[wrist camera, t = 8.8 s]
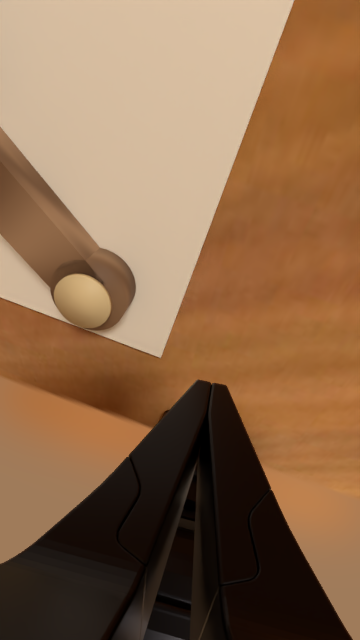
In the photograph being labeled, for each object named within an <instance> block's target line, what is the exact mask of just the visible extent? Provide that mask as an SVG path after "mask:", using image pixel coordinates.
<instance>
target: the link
mask: <svg viewBox="0 0 360 640" xmlns="http://www.w3.org/2000/svg"><path fill="white" fill-rule="evenodd" d="M0 234H1V235H2V237H3V238H4V239H5V240H6V241H7V242H8V243H9V244H10V245H11V246H12V247H13V248H14V250H15V251H16V252H17V253H18V254H19V255H20V256H21V257H22V258H23V259H24V260H25V261H26V262H27V264H28V265H29V266H30V267H31V268H32V269H33V270H34V271H35V272H36V273H37V274H38V275H39V276H40V278H41V279H42V280H43V281H44V282H45V283H46V284H47V285H48V286H49V287H50V291H51V296H52V299H53V301H54V290H55V287H56V285H57V283H58V282H59V281H60V280H62V279H63V278H64V277H65V276H67V275H70V274H75V273H80V274H85V275H89V276H91V277H93V278H95V279H96V280H98V281H99V282H100V283H101V284H102V285H103V286H104V287H105V288H106V290H107V291H108V293H109V295H110V297H111V301H112V311H111V314H110V316H109V317H108V319H107V320H106V321H105V322H104V323H103V324H102V325H100V326H98V327H95V328H84V329H88V330H96V331H98V330H105V329H108V328H111V327H113V326H114V325H115V324H117V323H118V322H119V320H120V319H121V318H122V316H123V315H124V313H125V312H126V310H127V309H128V307H129V306H130V304H131V303H132V301H133V299H134V296H135V292H136V283H135V278H134V275H133V273H132V271H131V269H130V267H129V266H128V265H127V263H126V262H125V261H124V260H123V259H122V258H121V257H119V256H118V255H117V254H115V253H113V252H111V251H109V250H107V249H103V248H100V247H99V246H98V245H97V243H96V242H95V241H94V240H93V239H92V237H91V236H90V235H89V234H88V232H87V231H86V230H85V229H84V228H83V226H82V225H81V224H80V223H79V222H78V220H77V219H76V218H75V217H74V216H73V214H72V213H71V212H70V211H69V209H68V208H67V207H66V206H65V205H64V203H63V202H62V201H61V200H60V199H59V197H58V196H57V195H56V194H55V192H54V191H53V190H52V189H51V188H50V186H49V185H48V184H47V183H46V182H45V180H44V179H43V178H42V177H41V176H40V174H39V173H38V172H37V171H36V169H35V168H34V167H33V166H32V165H31V163H30V162H29V161H28V160H27V159H26V157H25V156H24V155H23V154H22V152H21V151H20V150H19V149H18V148H17V146H16V145H15V144H14V143H13V142H12V140H11V139H10V138H9V137H8V136H7V134H6V133H5V132H4V131H3V129H2V128H1V127H0ZM54 304H55V301H54ZM55 305H56V304H55ZM57 309H58V308H57ZM81 328H83V327H81Z"/></svg>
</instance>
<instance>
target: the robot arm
mask: <svg viewBox="0 0 360 640" xmlns="http://www.w3.org/2000/svg"><path fill="white" fill-rule="evenodd" d="M0 640H353V639H352V638H351V636H350V635H349V633H348V631H347V630H346V628H345V627H344V625H343V623H342V622H341V620H340V618H339V616H338V615H337V613H336V611H335V609H334V607H333V606H332V604H331V602H330V600H329V599H328V597H327V595H326V593H325V591H324V590H323V588H322V586H321V584H320V583H319V581H318V579H317V577H316V576H315V574H314V572H313V570H312V568H311V567H310V565H309V563H308V561H307V560H306V558H305V556H304V554H303V552H302V551H301V549H300V547H299V545H298V543H297V541H296V539H295V538H294V536H293V534H292V532H291V530H290V528H289V526H288V524H287V522H286V520H285V518H284V516H283V514H282V511H281V509H280V507H279V505H278V502H277V500H276V498H275V495H274V493H273V491H272V490H271V487H270V484H269V482H268V480H267V477H266V475H265V473H264V471H263V468H262V466H261V464H260V461H259V459H258V457H257V454H256V452H255V450H254V447H253V445H252V443H251V441H250V438H249V436H248V434H247V431H246V429H245V427H244V424H243V422H242V420H241V418H240V415H239V413H238V411H237V408H236V406H235V404H234V401H233V399H232V397H231V395H230V392H229V390H228V388H227V386H226V385H223V384H218V383H212V385H211V383H210V382H208V381H203V380H197V381H195V383H194V384H193V385H192V386H191V387H190V388H189V389H188V390H187V391H186V392H185V394H184V395H183V396H182V397H181V398H180V399H179V400H178V401H177V402H176V404H175V405H174V406H173V407H172V408H171V409H170V410H169V411H166V412H165V413H164V415H163V417H162V419H161V420H160V421H159V422H158V423H157V425H156V426H155V427H154V428H153V429H152V430H151V431H150V432H149V433H148V435H147V436H146V437H145V438H144V439H143V440H142V441H141V442H140V444H139V445H138V446H137V447H136V448H135V449H134V450H133V451H132V452H131V453H130V454H129V457H126V459H125V460H124V461H123V462H122V463H121V464H120V465H119V466H118V467H117V468H116V469H115V471H114V472H113V473H112V474H111V475H110V476H109V477H108V478H107V479H106V480H105V481H104V482H103V483H102V484H101V485H100V486H99V487H98V488H96V489H95V490H94V491H93V492H92V493H91V494H90V495H89V496H88V497H87V498H85V499H84V500H83V501H82V502H81V503H80V504H79V505H77V507H75V508H74V509H73V510H72V511H70V512H69V513H68V514H67V515H66V516H65V517H64V518H63V519H61V520H60V521H59V522H58V523H57V524H55V525H54V526H53V527H52V528H51V529H50V530H49V531H47V532H46V533H45V534H44V535H43V536H42V537H41V538H39V539H38V540H37V541H36V542H35V543H33V544H32V545H31V546H29V547H28V548H27V549H25V550H24V551H23V552H21V553H19V554H18V555H16V556H15V557H13V558H11V559H9V560H8V561H6V562H4V563H2V564H0Z"/></svg>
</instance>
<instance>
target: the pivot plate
mask: <svg viewBox="0 0 360 640" xmlns="http://www.w3.org/2000/svg"><path fill="white" fill-rule="evenodd" d="M293 2H294V0H0V127H1V128H2V129H3V131H4V132H5V133H6V134H7V136H8V137H9V138H10V139H11V140H12V142H13V143H14V144H15V145H16V146H17V148H18V149H19V150H20V151H21V152H22V154H23V155H24V156H25V157H26V159H27V160H28V161H29V162H30V163H31V165H32V166H33V167H34V168H35V169H36V171H37V172H38V173H39V174H40V176H41V177H42V178H43V179H44V180H45V182H46V183H47V184H48V185H49V186H50V188H51V189H52V190H53V191H54V192H55V194H56V195H57V196H58V197H59V199H60V200H61V201H62V202H63V203H64V205H65V206H66V207H67V208H68V209H69V211H70V212H71V213H72V214H73V216H74V217H75V218H76V219H77V220H78V222H79V223H80V224H81V225H82V226H83V228H84V229H85V230H86V231H87V232H88V234H89V235H90V236H91V237H92V239H93V240H94V241H95V242H96V243H97V245H98V246H99V247H100V248H103V249H107V250H109V251H111V252H113V253H115V254H117V255H118V256H119V257H121V258H122V259H123V260H124V261H125V262H126V263H127V265H128V266H129V267H130V269H131V271H132V273H133V275H134V278H135V283H136V292H135V296H134V299H133V301H132V303H131V304H130V306H129V307H128V309H127V310H126V312H125V313H124V315H123V316H122V318H121V319H120V320H119V322H118V323H117V324H115V325H114V326H113V327H111V328H108V329H105V330H98V331H96V330H88V329H85V330H88V331H91V332H93V333H96V334H99V335H101V336H104V337H107V338H109V339H112V340H114V341H117V342H120V343H122V344H125V345H128V346H130V347H133V348H136V349H138V350H141V351H143V352H146V353H149V354H151V355H154V356H157V357H159V358H161V356H162V353H163V351H164V348H165V345H166V343H167V340H168V337H169V334H170V332H171V329H172V326H173V324H174V321H175V318H176V316H177V313H178V310H179V308H180V305H181V302H182V300H183V297H184V294H185V292H186V289H187V286H188V284H189V281H190V278H191V276H192V273H193V270H194V267H195V265H196V262H197V259H198V257H199V254H200V251H201V249H202V246H203V243H204V241H205V238H206V235H207V233H208V230H209V227H210V225H211V222H212V219H213V217H214V214H215V211H216V209H217V206H218V203H219V201H220V198H221V195H222V192H223V190H224V187H225V184H226V182H227V179H228V176H229V174H230V171H231V168H232V166H233V163H234V160H235V158H236V155H237V152H238V150H239V147H240V144H241V142H242V139H243V136H244V134H245V131H246V128H247V126H248V123H249V120H250V117H251V115H252V112H253V109H254V107H255V104H256V101H257V99H258V96H259V93H260V91H261V88H262V85H263V83H264V80H265V77H266V75H267V72H268V69H269V67H270V64H271V61H272V59H273V56H274V53H275V51H276V48H277V45H278V42H279V40H280V37H281V34H282V32H283V29H284V26H285V24H286V21H287V18H288V16H289V13H290V10H291V8H292V5H293ZM0 297H1V298H4V299H6V300H9V301H11V302H14V303H17V304H19V305H22V306H25V307H27V308H30V309H33V310H35V311H38V312H41V313H43V314H46V315H48V316H51V317H54V318H56V319H59V320H62V321H64V322H67V323H70V324H72V325H75V326H77V327H80V328H81V327H83V329H84V328H95V327H98V326H100V325H102V324H103V323H104V322H105V321H106V320H107V319H108V317H109V316H110V314H111V311H112V301H111V297H110V295H109V293H108V291H107V290H106V288H105V287H104V286H103V285H102V284H101V283H100V282H99V281H98V280H96V279H95V278H93V277H91V276H89V275H85V274H80V273H75V274H70V275H67V276H65V277H64V278H63V279H62V280H60V281H59V282H58V283H57V285H56V287H55V290H54V301H55V304H56V305H55V304H54V301H53V299H52V296H51V291H50V287H49V286H48V285H47V284H46V283H45V282H44V281H43V280H42V279H41V278H40V276H39V275H38V274H37V273H36V272H35V271H34V270H33V269H32V268H31V267H30V266H29V265H28V264H27V262H26V261H25V260H24V259H23V258H22V257H21V256H20V255H19V254H18V253H17V252H16V251H15V250H14V248H13V247H12V246H11V245H10V244H9V243H8V242H7V241H6V240H5V239H4V238H3V237H2V235H1V234H0ZM57 308H58V309H57Z"/></svg>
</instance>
